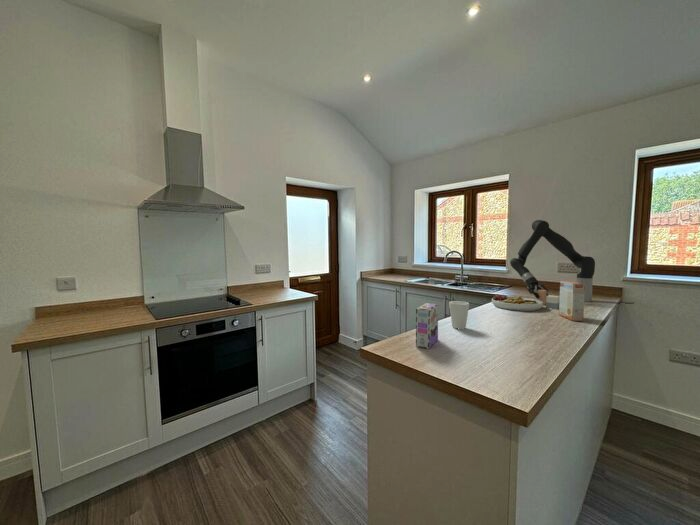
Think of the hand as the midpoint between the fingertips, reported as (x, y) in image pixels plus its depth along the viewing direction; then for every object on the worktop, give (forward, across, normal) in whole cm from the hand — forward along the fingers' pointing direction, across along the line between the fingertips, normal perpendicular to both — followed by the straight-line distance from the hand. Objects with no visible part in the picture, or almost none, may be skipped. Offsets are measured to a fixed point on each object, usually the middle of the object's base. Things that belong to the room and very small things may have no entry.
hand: (543, 297), depth 202 cm
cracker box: (+28, -21, -21) cm, 41 cm away
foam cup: (+26, -93, -19) cm, 98 cm away
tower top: (+8, -4, -7) cm, 11 cm away
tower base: (+11, -4, -4) cm, 13 cm away
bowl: (+4, -24, +4) cm, 25 cm away
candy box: (+38, -120, -30) cm, 130 cm away
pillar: (+3, 0, +4) cm, 5 cm away
